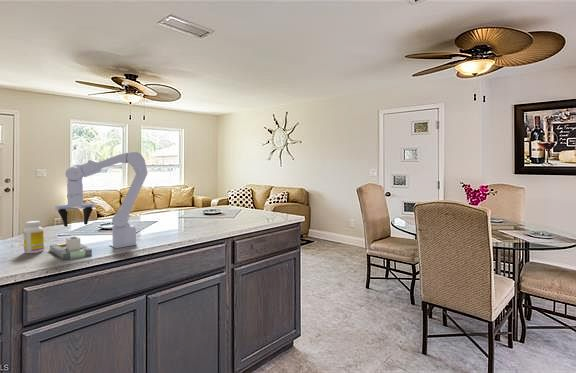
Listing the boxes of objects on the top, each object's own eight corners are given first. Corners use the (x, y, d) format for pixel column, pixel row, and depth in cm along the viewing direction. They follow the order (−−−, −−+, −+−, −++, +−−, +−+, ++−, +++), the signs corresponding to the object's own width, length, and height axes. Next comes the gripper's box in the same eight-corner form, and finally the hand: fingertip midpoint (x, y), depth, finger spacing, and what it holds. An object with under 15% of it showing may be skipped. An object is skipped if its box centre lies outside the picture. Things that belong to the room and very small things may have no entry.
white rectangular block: (77, 253, 139) (77, 235, 139) (80, 255, 137) (80, 236, 136) (66, 254, 136) (66, 236, 136) (69, 256, 134) (68, 238, 133)
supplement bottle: (47, 249, 144) (46, 220, 143) (36, 253, 137) (35, 223, 136) (31, 249, 143) (31, 220, 143) (20, 253, 137) (19, 223, 136)
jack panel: (76, 246, 150) (76, 241, 149) (91, 255, 136) (91, 249, 136) (49, 250, 142) (49, 244, 142) (63, 260, 129) (63, 253, 129)
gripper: (90, 193, 153) (91, 222, 154) (52, 194, 142) (53, 226, 143) (95, 194, 148) (96, 224, 149) (57, 196, 138) (58, 228, 138)
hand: (75, 225), depth 146 cm, fingers open, 7 cm apart
